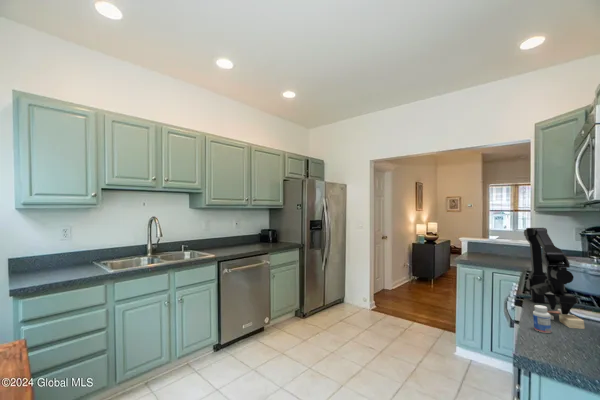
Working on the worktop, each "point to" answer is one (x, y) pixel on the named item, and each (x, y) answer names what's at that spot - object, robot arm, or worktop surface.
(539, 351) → the worktop surface
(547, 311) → the channel
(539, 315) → the pill bottle
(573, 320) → the birch block
